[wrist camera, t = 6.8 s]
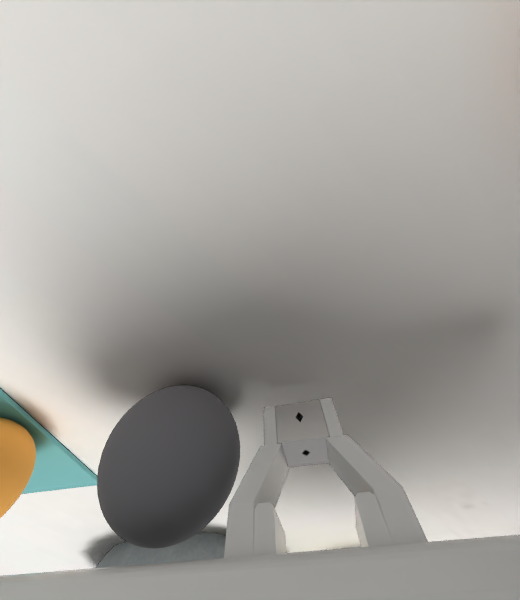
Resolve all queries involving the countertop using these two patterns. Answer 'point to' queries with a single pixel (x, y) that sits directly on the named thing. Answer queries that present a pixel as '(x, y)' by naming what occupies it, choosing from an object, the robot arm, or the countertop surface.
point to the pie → (167, 552)
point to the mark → (47, 455)
